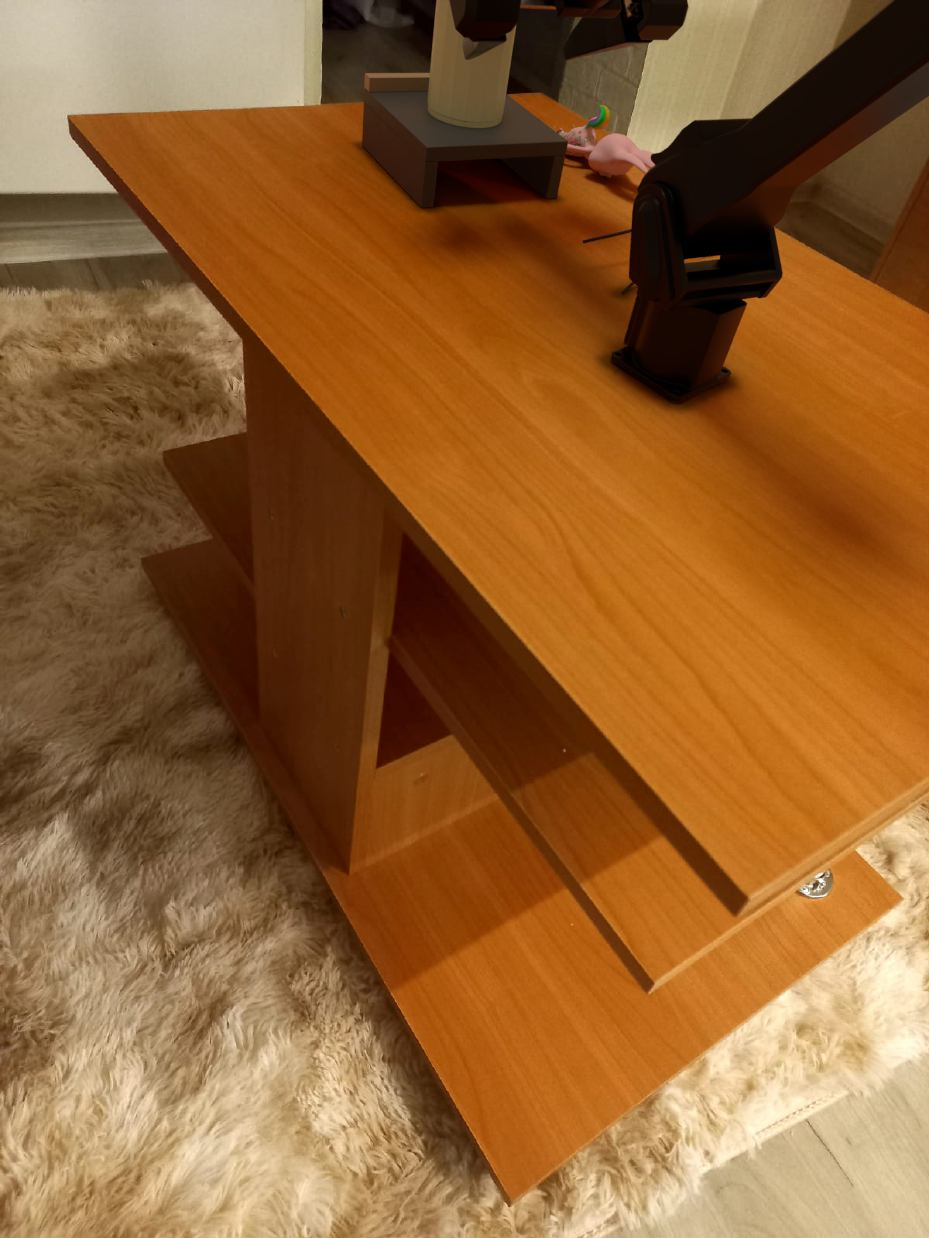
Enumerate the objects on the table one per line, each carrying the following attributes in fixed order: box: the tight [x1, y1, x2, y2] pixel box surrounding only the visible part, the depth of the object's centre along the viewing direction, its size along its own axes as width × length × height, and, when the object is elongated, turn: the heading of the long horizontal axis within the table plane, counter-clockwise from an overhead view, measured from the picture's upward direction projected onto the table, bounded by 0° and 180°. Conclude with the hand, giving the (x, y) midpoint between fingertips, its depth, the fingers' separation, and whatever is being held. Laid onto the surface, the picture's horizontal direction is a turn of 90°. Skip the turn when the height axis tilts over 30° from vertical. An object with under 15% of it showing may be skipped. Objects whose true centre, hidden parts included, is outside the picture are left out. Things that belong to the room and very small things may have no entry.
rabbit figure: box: [553, 104, 655, 179], centre depth 85 cm, size 6×6×15 cm
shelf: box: [361, 72, 568, 209], centre depth 80 cm, size 14×14×6 cm
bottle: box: [427, 0, 517, 128], centre depth 74 cm, size 7×7×14 cm
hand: (516, 53), depth 70 cm, fingers open, 9 cm apart
